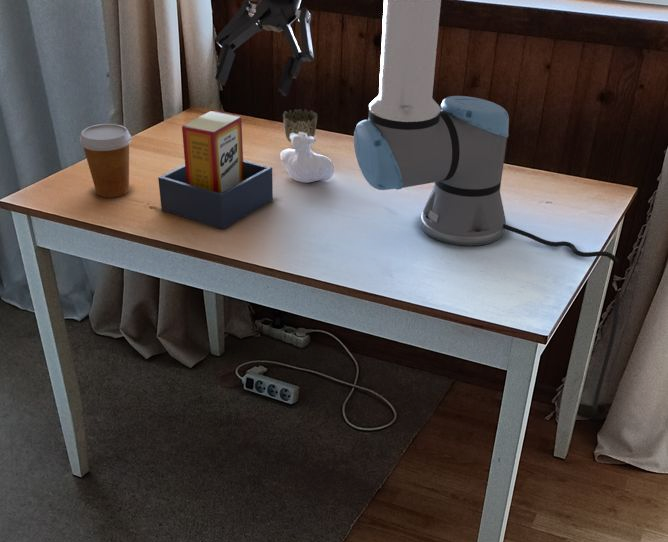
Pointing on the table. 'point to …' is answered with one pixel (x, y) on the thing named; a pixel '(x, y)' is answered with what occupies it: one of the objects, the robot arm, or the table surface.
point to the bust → (305, 160)
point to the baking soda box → (213, 151)
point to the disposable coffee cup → (108, 158)
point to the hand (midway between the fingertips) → (250, 87)
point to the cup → (299, 123)
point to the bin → (216, 196)
